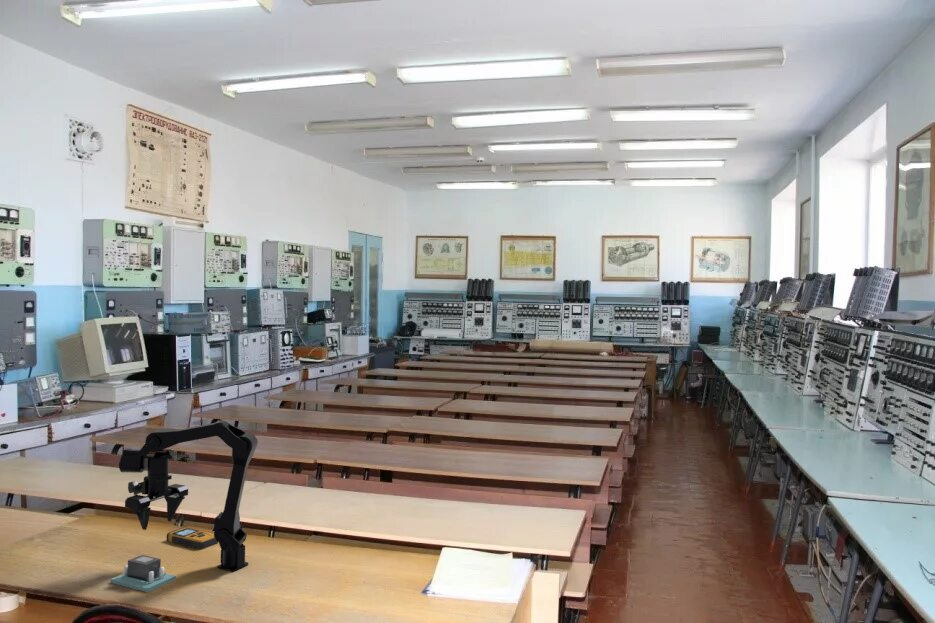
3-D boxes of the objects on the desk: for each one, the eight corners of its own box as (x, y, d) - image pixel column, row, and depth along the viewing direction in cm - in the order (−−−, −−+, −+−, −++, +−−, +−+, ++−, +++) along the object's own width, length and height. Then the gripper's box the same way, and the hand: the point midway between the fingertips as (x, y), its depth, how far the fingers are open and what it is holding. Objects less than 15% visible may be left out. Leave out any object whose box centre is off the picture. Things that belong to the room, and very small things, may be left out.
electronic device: (200, 552, 229) (200, 541, 229) (165, 542, 236) (165, 532, 236) (220, 544, 236) (220, 533, 236) (186, 535, 243) (186, 525, 243)
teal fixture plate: (176, 579, 205) (176, 565, 205) (147, 592, 196) (147, 577, 196) (140, 570, 211) (140, 556, 211) (110, 582, 202) (110, 568, 202)
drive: (160, 576, 204) (160, 558, 204) (145, 582, 200) (146, 564, 200) (142, 572, 207) (142, 554, 207) (127, 578, 203) (127, 560, 202)
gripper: (163, 463, 226) (162, 513, 226) (111, 476, 209) (110, 530, 209) (190, 467, 222) (189, 518, 222) (139, 481, 205) (138, 536, 205)
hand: (157, 525), depth 215 cm, fingers open, 9 cm apart
